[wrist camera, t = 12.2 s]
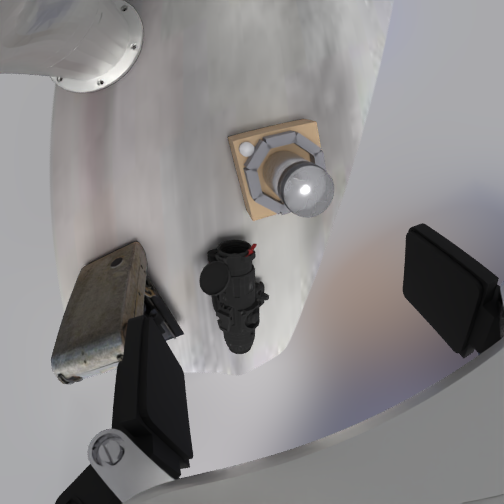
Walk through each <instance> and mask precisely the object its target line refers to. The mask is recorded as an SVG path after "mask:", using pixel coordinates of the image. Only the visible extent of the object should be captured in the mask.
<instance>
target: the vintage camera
mask: <svg viewBox="0 0 504 504" xmlns="http://www.w3.org/2000/svg"><path fill="white" fill-rule="evenodd" d="M146 272H147V260H146V255H145V252H144V250H143V248H142V246H141V245H140V243H138V242H134V243H131V244H129V245H127V246H125V247H123V248H121V249H118V250H117V251H115V252H113V253H111V254H109V255H107V256H104V257H102V258H100V259H98V260H96V261H94V262H92V263H90V264H88V265H86V266H85V267H83V268H82V269H81V271H80V273H79V276H78V278H77V281H76V283H75V286H74V289H73V291H72V294H71V296H70V299H69V302H68V305H67V307H66V310H65V313H64V316H63V319H62V322H61V325H60V329H59V332H58V336H57V339H56V342H55V346H54V349H53V353H52V357H51V365H52V370H53V372H54V374H55V375H56V376H57V378H58V379H59V380H60V381H61V382H62V383H63V384H73V383H74V382H79V381H81V380H83V379H85V378H88V377H92V376H95V375H98V374H102V373H105V372H108V371H112V370H115V369H117V366H118V363H119V362H120V361H123V353H124V345H125V337H126V330H127V323H128V320H129V319H130V318H134V317H137V316H141V315H145V316H146V317H147V318H149V317H152V318H153V320H154V322H155V323H156V325H157V327H158V329H159V330H160V332H161V334H162V336H163V337H164V339H165V341H167V340H169V339H172V338H174V339H175V338H176V337H178V336H180V335H183V334H184V333H183V331H182V329H181V328H180V326H179V325H178V323H177V322H176V320H175V319H174V317H173V316H172V314H171V312H170V311H169V309H168V308H167V306H166V304H165V303H164V301H163V300H162V299H161V297H160V296H159V294H158V293H157V291H156V289H155V288H154V286H153V284H152V282H151V281H150V279H149V278H148V276H147V274H146Z"/></svg>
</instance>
